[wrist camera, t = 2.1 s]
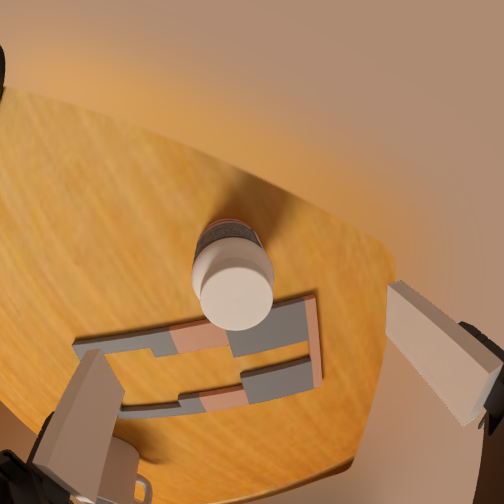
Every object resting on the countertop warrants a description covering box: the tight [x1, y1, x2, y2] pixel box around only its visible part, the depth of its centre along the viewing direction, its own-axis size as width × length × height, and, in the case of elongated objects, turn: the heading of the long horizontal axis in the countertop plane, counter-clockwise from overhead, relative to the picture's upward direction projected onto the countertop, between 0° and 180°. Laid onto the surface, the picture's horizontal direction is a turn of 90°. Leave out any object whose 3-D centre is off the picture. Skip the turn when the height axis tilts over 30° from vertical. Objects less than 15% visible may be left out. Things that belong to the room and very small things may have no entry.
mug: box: [81, 436, 152, 504], centre depth 26 cm, size 12×8×11 cm
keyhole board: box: [72, 294, 322, 419], centre depth 27 cm, size 12×25×1 cm, turn 101°
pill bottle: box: [192, 219, 274, 331], centre depth 19 cm, size 5×5×9 cm
